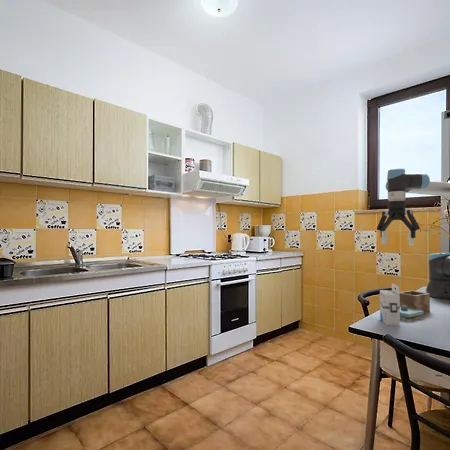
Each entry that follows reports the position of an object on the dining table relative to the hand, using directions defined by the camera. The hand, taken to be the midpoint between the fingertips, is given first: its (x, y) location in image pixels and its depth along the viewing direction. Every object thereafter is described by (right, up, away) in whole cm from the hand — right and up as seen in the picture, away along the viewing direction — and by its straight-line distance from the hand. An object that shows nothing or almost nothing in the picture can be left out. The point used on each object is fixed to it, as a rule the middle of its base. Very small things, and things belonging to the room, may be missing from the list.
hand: (397, 244), depth 149 cm
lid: (-9, -28, -21) cm, 36 cm away
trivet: (-9, -28, -21) cm, 36 cm away
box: (0, -29, -13) cm, 31 cm away
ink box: (-19, -29, -29) cm, 45 cm away
